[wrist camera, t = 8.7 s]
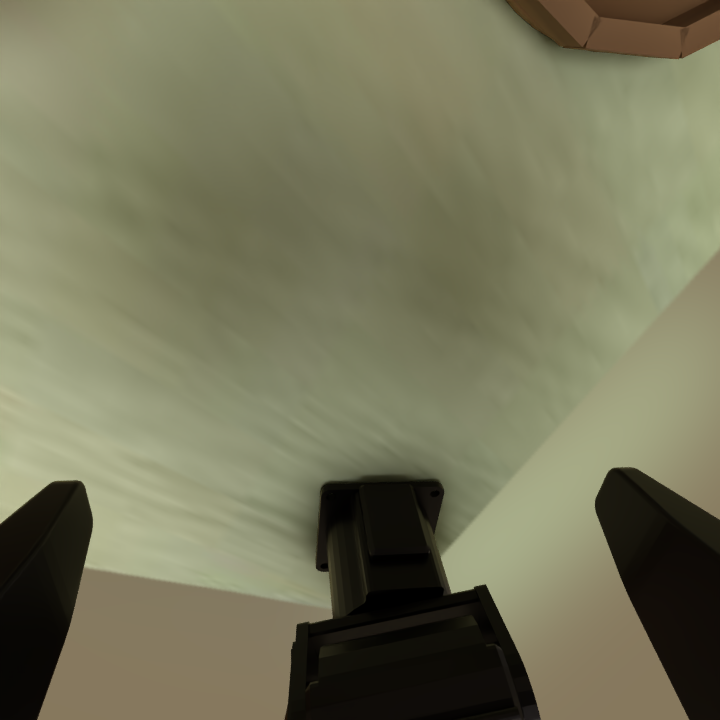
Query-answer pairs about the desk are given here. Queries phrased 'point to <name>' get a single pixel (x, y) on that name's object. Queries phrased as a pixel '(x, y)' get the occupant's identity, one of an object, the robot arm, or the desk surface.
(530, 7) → the walnut tray
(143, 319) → the desk surface
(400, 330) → the desk surface
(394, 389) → the desk surface
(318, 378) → the desk surface
